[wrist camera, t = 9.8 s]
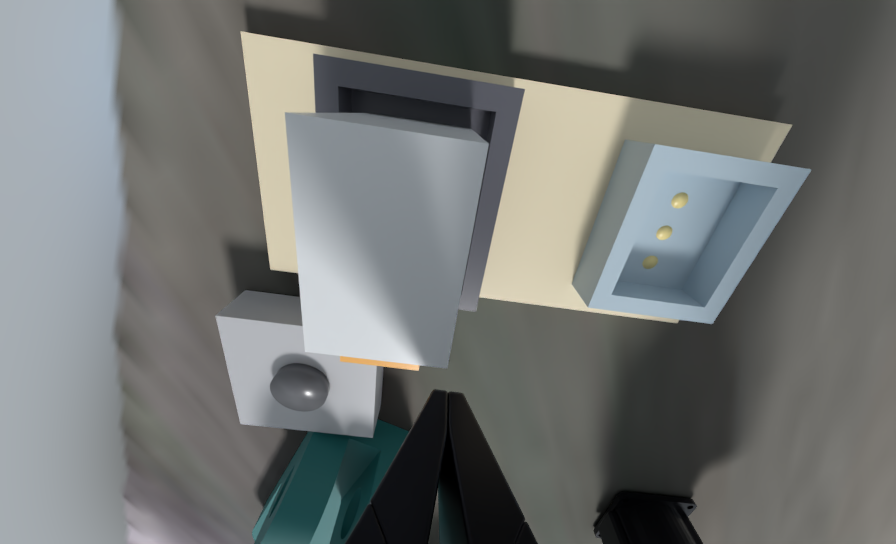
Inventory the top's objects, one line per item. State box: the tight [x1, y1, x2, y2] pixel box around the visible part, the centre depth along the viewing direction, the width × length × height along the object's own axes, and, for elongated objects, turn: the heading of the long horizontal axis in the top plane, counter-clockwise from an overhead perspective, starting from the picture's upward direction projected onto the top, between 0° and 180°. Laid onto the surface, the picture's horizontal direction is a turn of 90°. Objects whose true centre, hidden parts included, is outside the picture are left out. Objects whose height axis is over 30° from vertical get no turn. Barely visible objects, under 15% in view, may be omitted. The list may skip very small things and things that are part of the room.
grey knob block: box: [215, 290, 384, 438], centre depth 18 cm, size 8×8×3 cm
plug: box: [285, 112, 489, 371], centre depth 11 cm, size 4×7×7 cm, turn 172°
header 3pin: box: [572, 140, 812, 324], centre depth 14 cm, size 6×7×2 cm
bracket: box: [252, 419, 409, 544], centre depth 23 cm, size 18×7×8 cm, turn 149°
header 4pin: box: [313, 54, 525, 312], centre depth 13 cm, size 7×9×2 cm
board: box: [241, 32, 792, 323], centre depth 15 cm, size 22×10×1 cm, turn 82°
